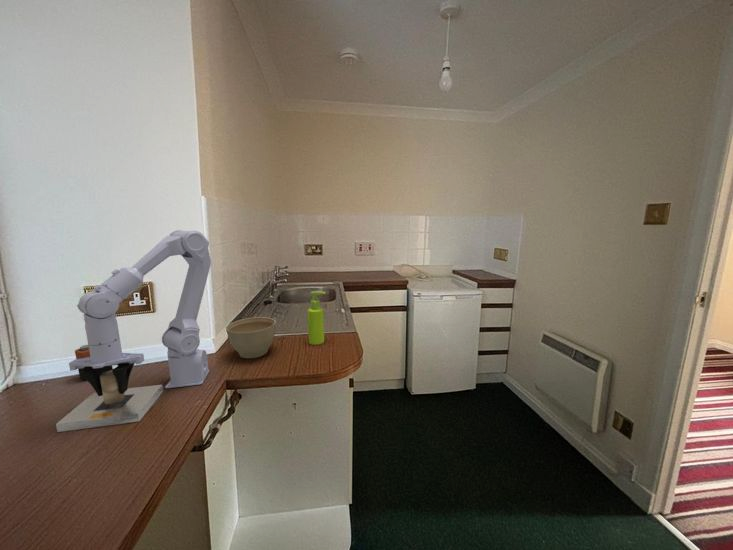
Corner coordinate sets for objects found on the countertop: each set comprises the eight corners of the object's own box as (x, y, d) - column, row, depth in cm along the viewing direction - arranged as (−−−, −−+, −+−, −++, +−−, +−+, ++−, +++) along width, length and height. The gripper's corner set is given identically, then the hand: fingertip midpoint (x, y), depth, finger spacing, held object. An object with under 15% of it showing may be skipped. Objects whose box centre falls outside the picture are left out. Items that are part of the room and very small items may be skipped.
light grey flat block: (163, 391, 82) (162, 384, 82) (139, 421, 70) (137, 413, 70) (95, 399, 79) (94, 391, 79) (57, 432, 66) (55, 423, 66)
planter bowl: (269, 340, 117) (267, 314, 115) (283, 355, 104) (281, 325, 102) (225, 350, 108) (222, 322, 106) (234, 368, 95) (231, 336, 93)
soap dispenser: (325, 344, 113) (323, 293, 109) (307, 344, 113) (305, 293, 110) (327, 338, 119) (326, 289, 115) (310, 338, 119) (308, 289, 115)
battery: (79, 378, 90) (73, 347, 88) (106, 368, 96) (101, 339, 94) (86, 381, 88) (80, 349, 86) (113, 371, 94) (108, 341, 92)
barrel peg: (127, 393, 77) (123, 368, 75) (120, 402, 73) (116, 376, 72) (109, 396, 75) (104, 371, 74) (100, 405, 72) (96, 378, 70)
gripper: (54, 350, 66) (66, 406, 68) (130, 344, 69) (138, 397, 71) (77, 338, 73) (87, 389, 75) (145, 333, 76) (152, 382, 78)
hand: (113, 392), depth 74 cm, fingers closed on barrel peg, 4 cm apart
